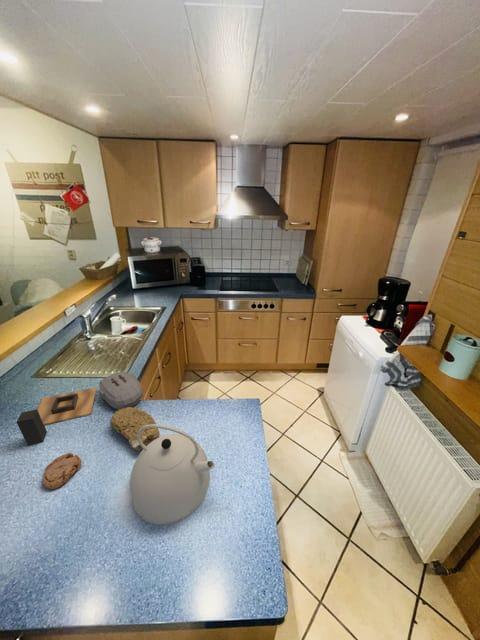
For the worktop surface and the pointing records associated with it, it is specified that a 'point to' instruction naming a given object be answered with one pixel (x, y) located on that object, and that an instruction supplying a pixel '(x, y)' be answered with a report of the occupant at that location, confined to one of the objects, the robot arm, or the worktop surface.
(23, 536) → the worktop surface
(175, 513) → the kettle
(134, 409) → the sponge
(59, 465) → the cookie
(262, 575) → the worktop surface
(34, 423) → the black block
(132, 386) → the grey rounded bag
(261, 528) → the worktop surface
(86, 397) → the base pad
